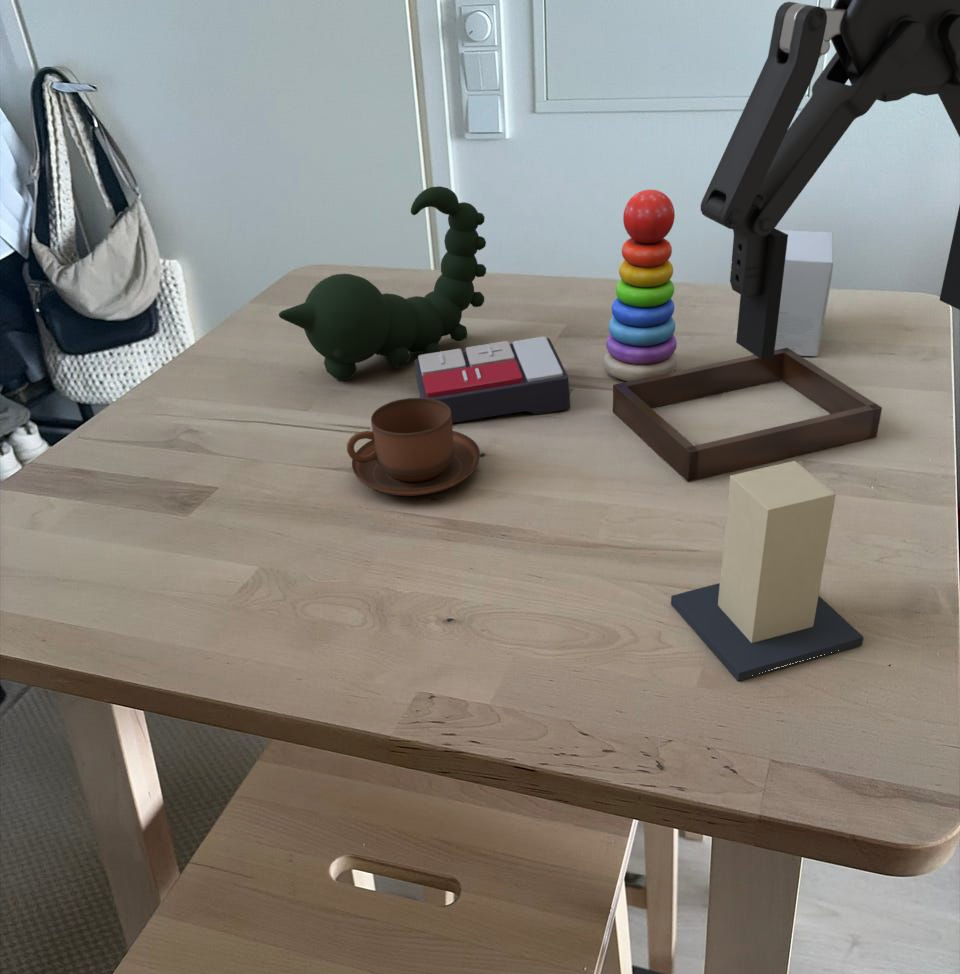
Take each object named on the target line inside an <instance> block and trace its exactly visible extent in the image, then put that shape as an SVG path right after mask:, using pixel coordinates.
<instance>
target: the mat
mask: <svg viewBox="0 0 960 974" xmlns="http://www.w3.org/2000/svg"><path fill="white" fill-rule="evenodd" d="M719 587H720V582H718V583H714V584H710V585H707V586H703V587H699V588H695V589H692V590H688V591H685V592H684V591H683V592H680V593H676V594H673V595H671V596H670V605H671V606H672V607H673V608H674V610H675V611H676V612H677V613H678V614H679V615H680V616H681V618H682V619H683V620H684V621H685V622H686V623H687V625H688V626H689V627H690V628H691V629H692V630H693V631H694V633H695V634H696V635H697V636H698V637H699V638H700V639H701V641H702V642H703V643H704V644H705V645H706V647H707V648H709V650H710V651H711V652H712V653H713V654H714V655H715V656H716V658H717V659H718V660H719V661H720V663H721V664H722V665H723V666H724V667H725V668H726V670H728V672H729V673H730V674H731V675H732V676H733V677H734V678H735V680H736V681H737V682H741V681H745V680H748V679H751V678H754V677H755V678H756V677H758V676H762V675H765V674H768V673H771V672H775V671H780V670H783V669H786V668H789V667H792V666H796V665H799V664H800V665H801V664H803V663H807V662H811V661H814V660H816V659H821V658H824V657H827V656H830V655H831V656H832V655H833V654H834V655H835V654H838V653H841V652H844V651H848V650H851V649H854V648H858V647H861V646H863V642H864V636H863V635H862V634H861V633H860V632H859V631H858V630H857V629H856V628H855V627H854V626H853V625H851V623H849V621H847V620H846V619H845V618H844V617H843V616H842V615H841V614H840V613H838V612H837V611H836V610H835V609H834V608H833V607H832V606H831V605H830V604H829V603H828V602H826V601H825V600H824V599H823V598H822V597H821V596H820V595H819V596H818V601H817V607H816V613H815V619H814V625H813V627H810V628H807V629H803V630H799V631H795V632H792V633H788V634H784V635H780V636H777V637H773V638H769V639H765V640H762V641H758V642H754V643H751V642H750V641H749V640H748V639H747V637H746V636H745V635H744V634H743V633H742V632H741V631H740V630H739V629H738V627H737V626H736V625H735V624H734V623H733V622H732V621H731V620H730V618H729V617H728V616H727V615H726V614H725V613H724V612H723V611H722V609H721V608H720V607H719V606H718V597H719ZM838 650H839V651H838ZM831 652H832V653H831ZM824 654H825V655H824ZM820 655H822V656H820ZM817 656H818V657H817ZM813 657H815V658H813ZM809 658H811V659H809ZM807 659H808V660H807ZM802 660H804V661H802ZM797 661H798V662H797ZM799 661H801V662H799ZM795 662H797V663H795ZM790 663H791V665H789V664H790ZM792 663H794V664H792ZM787 664H788V665H787ZM784 665H787V666H784ZM781 666H784V667H781ZM776 667H780V668H777V669H774V668H776ZM771 669H773V670H771ZM768 670H770V671H768ZM765 671H766V672H765ZM762 672H763V673H762ZM759 673H760V674H759ZM752 675H753V676H752Z"/></svg>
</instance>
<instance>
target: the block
mask: <svg viewBox="0 0 960 974" xmlns="http://www.w3.org/2000/svg"><path fill="white" fill-rule="evenodd" d="M836 495H837V494H836V493H835V492H834V491H833V490H832V489H831V488H829V487H828V486H827V485H825V483H823V482H822V481H820V479H818V478H817V477H816V476H814V475H813V474H812V472H811V473H810V471H808V470H807V469H806V468H804V467H803V466H802V465H801V464H800V463H799V462H797V461H796V460H792V461H787V462H783V463H778V464H774V465H770V466H766V467H761V468H757V469H753V470H747V471H744V472H739V473H736V474H731V475H730V476H729V486H728V496H727V504H726V506H727V507H726V517H725V526H724V537H723V547H722V558H721V566H720V567H721V568H720V569H721V570H720V577H719V583H720V587H719V597H718V606H719V607H720V608H721V609H722V611H723V612H724V613H725V614H726V615H727V616H728V617H729V618H730V620H731V621H732V622H733V623H734V624H735V625H736V626H737V627H738V629H739V630H740V631H741V632H742V633H743V634H744V635H745V636H746V637H747V639H748V640H749V641H750V642H751V643H754V642H758V641H762V640H765V639H769V638H773V637H777V636H780V635H784V634H788V633H792V632H795V631H799V630H803V629H807V628H810V627H813V625H814V619H815V613H816V607H817V601H818V596H820V589H821V583H822V577H823V572H824V566H825V560H826V554H827V549H828V542H829V538H830V537H829V536H830V530H831V525H832V519H833V514H834V508H835V501H836Z"/></svg>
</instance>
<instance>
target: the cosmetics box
mask: <svg viewBox="0 0 960 974" xmlns="http://www.w3.org/2000/svg"><path fill="white" fill-rule="evenodd" d="M778 230H779V231H781V232H783V233H785V234H787V235H788V241H787V249H786V258H785V266H784V275H783V283H782V292H781V300H780V309H779V317H778V326H777V334H776V343H775V350H778V349H783V348H789V349H790V350H792V351H793V352H795V353H797V354H798V355H800V356H801V357H818V354H819V350H820V345H821V340H822V335H823V330H824V324H825V319H826V315H827V313H826V312H827V307H828V302H829V295H830V289H831V282H832V277H833V270H834V269H833V267H834V233H833V232H832V231H831V232H829V231H811V230H810V231H809V230H807V231H806V230H785V229H784V230H783V229H778Z"/></svg>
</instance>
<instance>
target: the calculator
mask: <svg viewBox="0 0 960 974" xmlns="http://www.w3.org/2000/svg"><path fill="white" fill-rule="evenodd" d="M413 363H414V370H415V375H416V381H417V387H418V391H419V396H420V397H419V398H429V399H434V400H438V401H441V402H443V403H445V404H446V405H447V406H448V407H449V408H450V410H451V415H452V424H454V423H460V422H467V421H473V420H478V419H480V420H481V419H486V418H491V417H497V416H504V415H511V414H515V413H516V414H517V413H521V412H528V413H530V414H533V415H542V414H548V413H555V412H560V411H566V410H569V409H570V408H571V399H570V398H571V397H570V396H571V395H570V382H569V375H568V373H567V371H566V369H565V367H564V365H563V362H562V360H561V359H560V356H559V355H558V353H557V351H556V349H555V346H554V345H553V343H552V340H551V339H550V338H549V337H546V336H537V337H533V338H526V339H520V340H514V341H513V342H512V343H510V342H509V341H508V340H503V341H497V342H490V343H485V344H478V345H472V346H468V347H465V350H463V351H462V348H453V349H448V350H440V352H435V353H429V354H423V353H422V354H419V355H418V356H417V358H416V359H414V362H413Z"/></svg>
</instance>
